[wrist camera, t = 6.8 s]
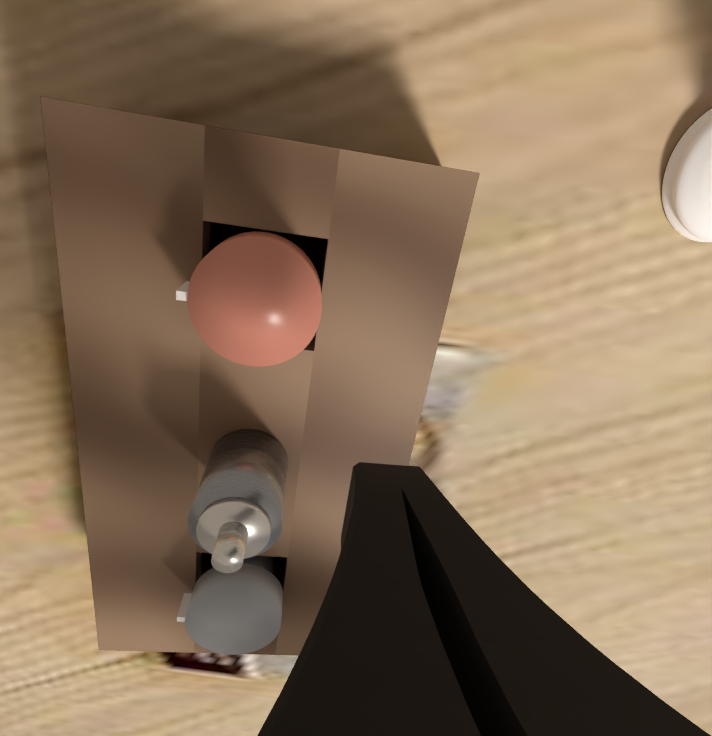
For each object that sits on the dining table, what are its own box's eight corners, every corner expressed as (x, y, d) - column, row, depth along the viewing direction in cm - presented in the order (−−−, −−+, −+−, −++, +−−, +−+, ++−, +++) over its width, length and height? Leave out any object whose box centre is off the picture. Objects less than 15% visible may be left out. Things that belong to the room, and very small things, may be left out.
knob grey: (285, 550, 22) (276, 655, 18) (206, 545, 22) (176, 653, 17) (292, 494, 21) (284, 592, 16) (208, 488, 20) (176, 587, 16)
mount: (355, 581, 24) (361, 656, 20) (133, 570, 23) (99, 650, 19) (443, 169, 16) (479, 173, 12) (109, 111, 15) (40, 96, 11)
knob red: (314, 314, 17) (313, 373, 13) (214, 302, 17) (175, 357, 12) (326, 222, 16) (329, 249, 11) (217, 205, 16) (174, 226, 11)
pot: (284, 494, 16) (274, 599, 12) (209, 488, 16) (174, 595, 12) (291, 432, 15) (282, 526, 11) (211, 425, 15) (174, 519, 11)
